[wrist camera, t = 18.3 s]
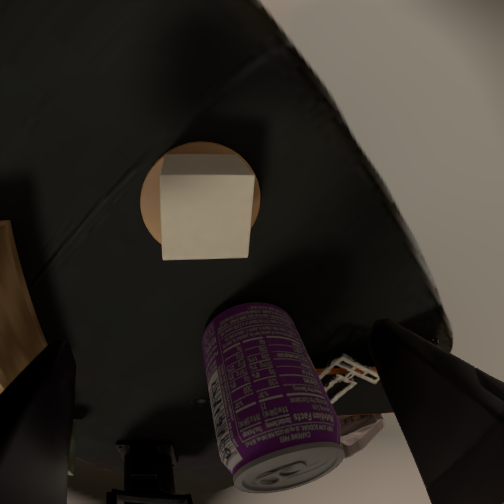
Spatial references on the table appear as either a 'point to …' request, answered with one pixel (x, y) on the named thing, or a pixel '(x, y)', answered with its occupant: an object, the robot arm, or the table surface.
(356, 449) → the dental mold
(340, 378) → the model
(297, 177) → the table surface
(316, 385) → the beverage can
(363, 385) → the smartphone
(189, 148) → the coaster
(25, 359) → the cabinet
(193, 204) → the block
